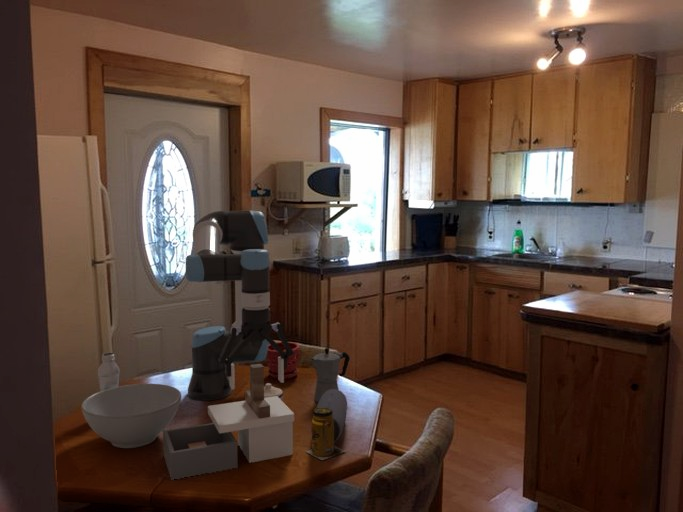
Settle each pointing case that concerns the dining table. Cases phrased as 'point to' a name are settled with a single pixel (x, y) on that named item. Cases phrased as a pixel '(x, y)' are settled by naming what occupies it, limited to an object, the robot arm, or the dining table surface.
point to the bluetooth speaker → (335, 409)
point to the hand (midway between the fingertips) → (257, 384)
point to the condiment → (323, 434)
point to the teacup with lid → (272, 391)
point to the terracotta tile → (196, 444)
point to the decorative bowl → (131, 413)
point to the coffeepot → (327, 371)
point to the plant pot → (291, 361)
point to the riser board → (257, 428)
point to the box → (198, 451)
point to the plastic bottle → (108, 372)
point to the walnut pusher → (257, 392)
